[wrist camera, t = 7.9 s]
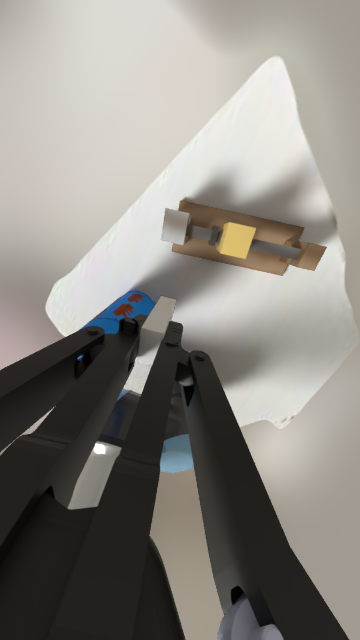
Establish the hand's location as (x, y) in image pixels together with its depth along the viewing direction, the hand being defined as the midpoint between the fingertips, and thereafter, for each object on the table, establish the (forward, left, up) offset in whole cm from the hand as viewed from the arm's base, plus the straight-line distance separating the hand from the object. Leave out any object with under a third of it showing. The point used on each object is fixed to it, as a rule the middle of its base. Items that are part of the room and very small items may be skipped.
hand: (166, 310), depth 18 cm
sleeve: (+7, -7, -23) cm, 25 cm away
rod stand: (+7, -9, -29) cm, 31 cm away
